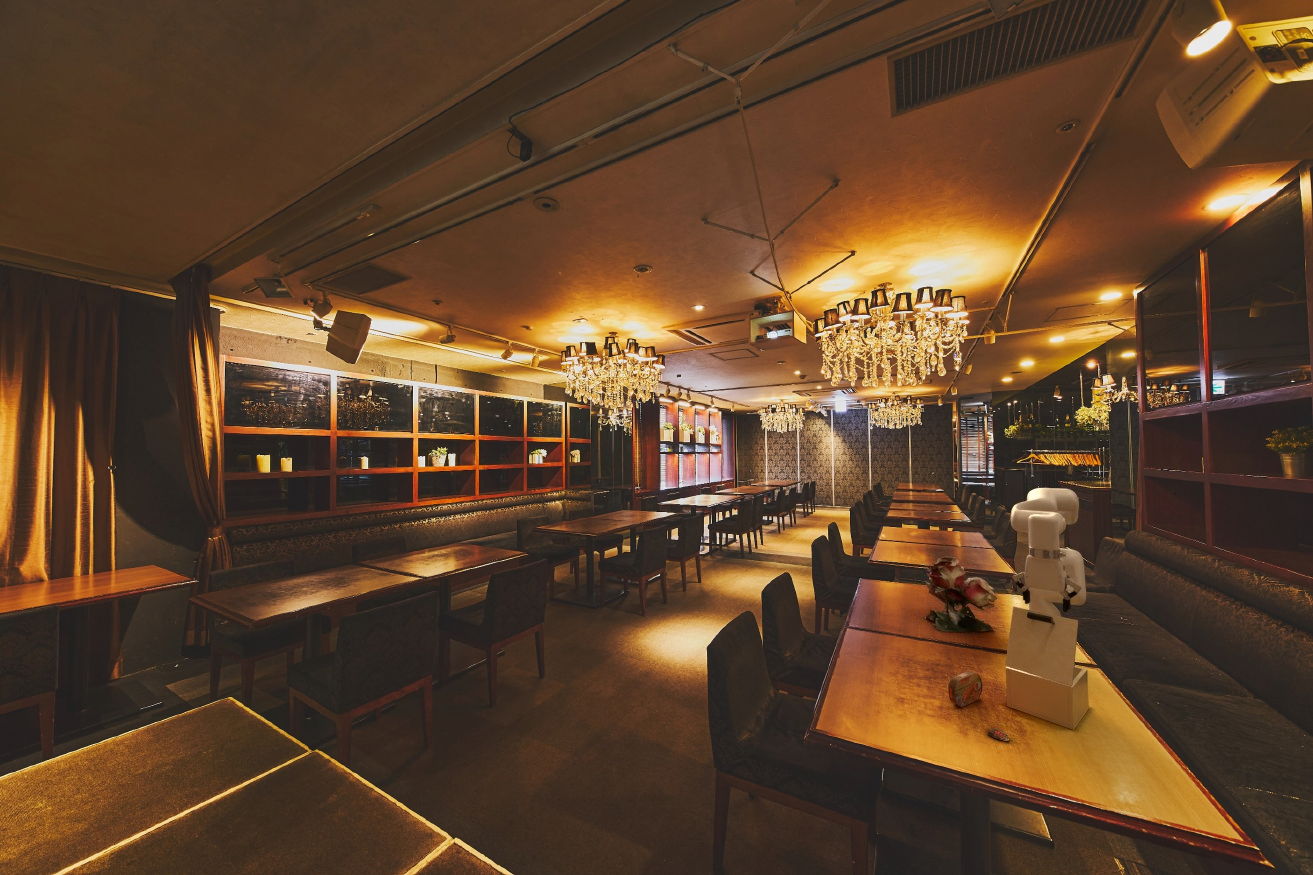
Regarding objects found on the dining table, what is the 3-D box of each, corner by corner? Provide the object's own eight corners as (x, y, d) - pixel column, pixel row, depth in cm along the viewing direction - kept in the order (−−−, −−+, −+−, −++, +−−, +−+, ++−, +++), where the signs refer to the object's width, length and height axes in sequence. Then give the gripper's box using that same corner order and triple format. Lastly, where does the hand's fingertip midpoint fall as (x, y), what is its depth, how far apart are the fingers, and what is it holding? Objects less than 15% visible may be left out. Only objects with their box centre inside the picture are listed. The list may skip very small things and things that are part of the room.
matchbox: (986, 734, 132) (986, 733, 132) (992, 728, 135) (992, 726, 135) (1006, 743, 128) (1006, 741, 128) (1012, 735, 131) (1012, 734, 131)
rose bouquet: (1007, 632, 204) (1004, 563, 205) (940, 632, 205) (938, 563, 206) (968, 611, 230) (966, 550, 231) (909, 612, 230) (907, 551, 231)
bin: (1025, 687, 157) (1024, 651, 158) (1088, 708, 145) (1087, 669, 145) (1006, 705, 147) (1005, 667, 147) (1073, 729, 134) (1072, 687, 134)
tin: (956, 709, 145) (955, 682, 145) (946, 705, 147) (945, 678, 148) (984, 697, 152) (983, 671, 152) (973, 693, 154) (972, 667, 155)
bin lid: (1013, 607, 153) (1008, 602, 150) (1078, 620, 140) (1074, 615, 137) (1005, 666, 147) (1000, 662, 144) (1072, 686, 134) (1067, 682, 132)
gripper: (1083, 556, 145) (1085, 611, 145) (1015, 547, 159) (1017, 597, 159) (1077, 560, 141) (1079, 617, 140) (1007, 550, 154) (1009, 602, 154)
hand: (1046, 606), depth 150 cm, fingers open, 9 cm apart
